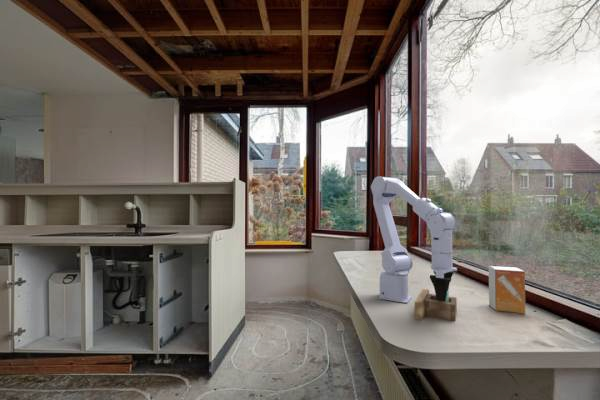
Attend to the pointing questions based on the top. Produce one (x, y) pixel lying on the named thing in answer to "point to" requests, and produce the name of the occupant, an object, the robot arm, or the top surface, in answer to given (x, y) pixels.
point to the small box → (507, 289)
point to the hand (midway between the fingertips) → (442, 297)
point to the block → (440, 307)
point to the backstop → (420, 304)
